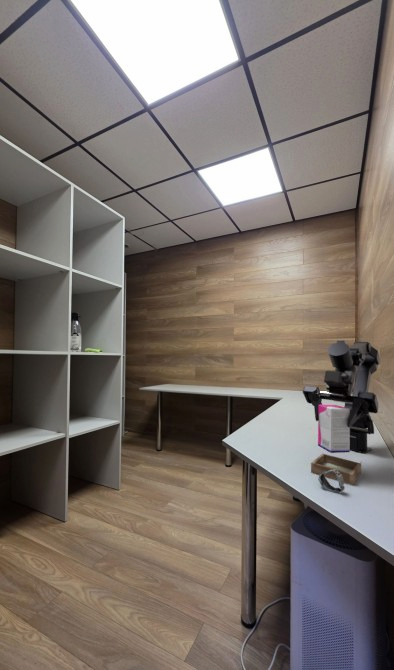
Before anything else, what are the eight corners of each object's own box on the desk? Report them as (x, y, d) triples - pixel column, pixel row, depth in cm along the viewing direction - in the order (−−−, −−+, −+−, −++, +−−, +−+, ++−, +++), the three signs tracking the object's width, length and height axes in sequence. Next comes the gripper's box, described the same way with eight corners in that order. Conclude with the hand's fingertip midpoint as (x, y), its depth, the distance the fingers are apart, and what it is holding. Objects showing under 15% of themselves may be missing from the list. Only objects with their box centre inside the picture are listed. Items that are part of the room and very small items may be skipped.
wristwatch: (334, 494, 64) (319, 473, 66) (351, 486, 61) (334, 464, 63) (328, 499, 62) (313, 478, 64) (345, 491, 59) (329, 469, 61)
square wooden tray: (322, 462, 79) (322, 453, 79) (361, 472, 72) (360, 463, 73) (311, 472, 72) (311, 462, 72) (352, 485, 65) (352, 474, 65)
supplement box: (350, 452, 71) (350, 408, 71) (330, 453, 70) (330, 408, 70) (336, 444, 76) (336, 404, 77) (317, 445, 75) (317, 404, 76)
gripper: (304, 359, 84) (289, 399, 75) (375, 362, 71) (366, 410, 62) (314, 383, 89) (300, 422, 80) (381, 389, 76) (374, 437, 67)
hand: (331, 423), depth 72 cm, fingers closed on supplement box, 8 cm apart
